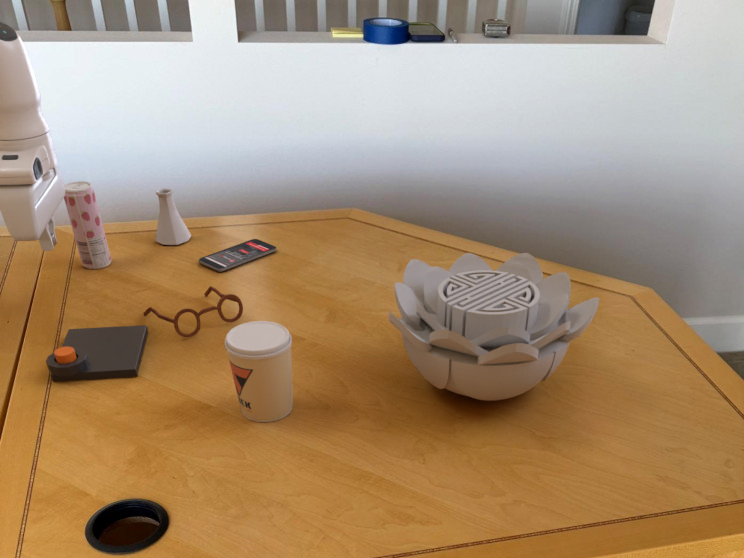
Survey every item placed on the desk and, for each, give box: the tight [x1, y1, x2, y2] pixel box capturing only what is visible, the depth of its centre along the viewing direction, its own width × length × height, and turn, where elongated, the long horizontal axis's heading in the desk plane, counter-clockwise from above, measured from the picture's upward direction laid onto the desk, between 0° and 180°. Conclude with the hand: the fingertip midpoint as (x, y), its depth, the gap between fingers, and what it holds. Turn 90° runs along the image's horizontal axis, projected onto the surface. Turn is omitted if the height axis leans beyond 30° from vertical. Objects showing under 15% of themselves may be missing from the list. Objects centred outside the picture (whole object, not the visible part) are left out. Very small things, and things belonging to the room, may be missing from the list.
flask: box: [154, 188, 192, 246], centre depth 161 cm, size 7×7×10 cm
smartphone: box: [198, 238, 277, 273], centre depth 157 cm, size 7×1×15 cm
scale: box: [45, 324, 149, 383], centre depth 126 cm, size 14×16×3 cm
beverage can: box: [63, 180, 112, 270], centre depth 150 cm, size 6×6×15 cm
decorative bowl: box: [388, 252, 600, 402], centre depth 118 cm, size 30×30×15 cm
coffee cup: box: [224, 320, 294, 423], centre depth 112 cm, size 9×9×12 cm
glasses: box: [142, 286, 244, 339], centre depth 136 cm, size 13×13×5 cm
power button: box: [53, 346, 77, 364], centre depth 121 cm, size 3×3×2 cm
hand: (50, 247), depth 122 cm, fingers closed
